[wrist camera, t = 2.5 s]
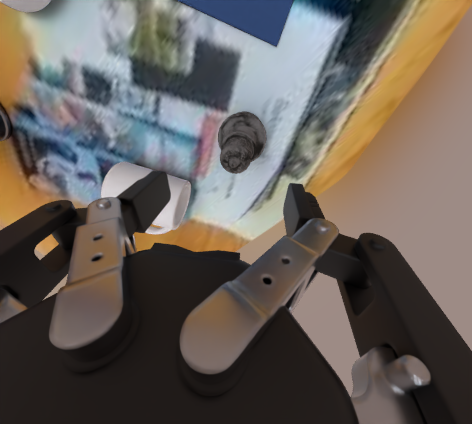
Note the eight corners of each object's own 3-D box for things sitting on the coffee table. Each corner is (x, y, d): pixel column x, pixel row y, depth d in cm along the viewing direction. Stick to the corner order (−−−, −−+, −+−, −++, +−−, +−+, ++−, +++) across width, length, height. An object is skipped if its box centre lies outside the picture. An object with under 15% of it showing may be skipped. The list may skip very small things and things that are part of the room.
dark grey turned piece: (220, 110, 23) (191, 130, 14) (266, 107, 23) (269, 126, 13) (225, 155, 27) (204, 196, 17) (265, 154, 26) (267, 196, 16)
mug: (132, 153, 28) (94, 174, 22) (194, 172, 29) (174, 198, 23) (136, 211, 35) (109, 240, 29) (185, 226, 36) (169, 257, 30)
